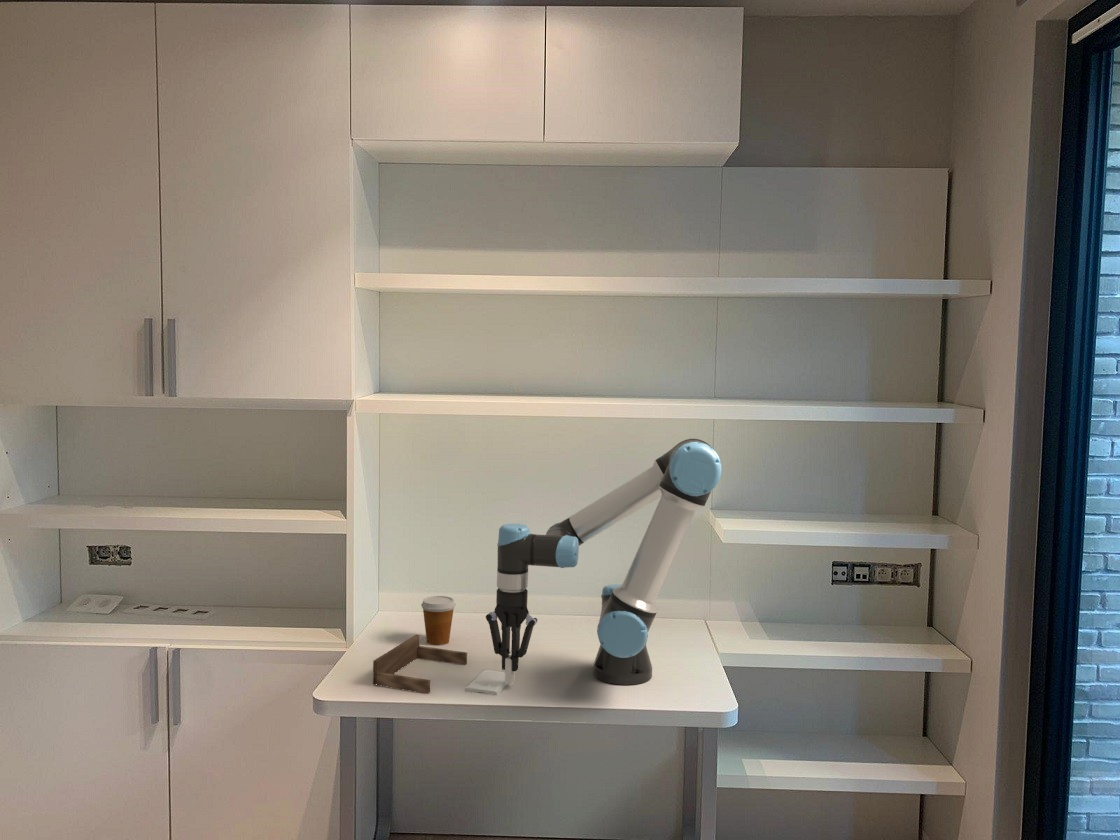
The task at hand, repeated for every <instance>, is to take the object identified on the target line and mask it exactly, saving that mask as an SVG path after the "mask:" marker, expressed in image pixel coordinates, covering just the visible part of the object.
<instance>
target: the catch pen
mask: <svg viewBox="0 0 1120 840" xmlns="http://www.w3.org/2000/svg"><path fill="white" fill-rule="evenodd" d="M420 642H421V641H420V634H415V635H413V636H411V637H409V638H408V639H407V640H405V641H403V642H402V643H399V645H397V646H395V647H393V648H392V649H391V650H389V651H387V652H386V653H384V654H382V655H380V656H379V657H377V658H375V659H374V660H372V661H373V662H372V665H373V667H372V672H373V673H372V685H373V684H377V685H382V686H381V687H383V686H388V687H387V688H389V687H392V689H396V688H397V690H402V689H404V690H403V691H408V690H411V691H410V692H414V691H416V692H415V693H422V694H431V679H424V678H421V677H420V678H419V677H413V676H407V675H401V674H400V675H399V674H396V673H397V672H399V671H400V670H402V669H403V668H405V667H406V666H408V665H409V664H410V662H411V663H412V662H414V661H416V659H423V660H428V661H435V662H436V661H437V662H441V663H442V662H443V663H450V664H457V665H462V666H463V665H464V666H466V665H467V664H468V652H464V651H460V650H459V651H458V650H452V649H445V648H438V647H432V646H431V647H430V646H424V645H420V644H421V643H420ZM413 660H414V661H413ZM407 664H408V665H407ZM404 666H405V667H404ZM402 667H403V668H402ZM401 668H402V669H401ZM398 670H399V671H398ZM395 672H396V673H395ZM394 673H395V674H394ZM377 685H376V686H377Z"/></svg>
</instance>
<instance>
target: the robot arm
mask: <svg viewBox="0 0 1120 840" xmlns="http://www.w3.org/2000/svg"><path fill="white" fill-rule="evenodd" d="M722 470H723V469H722V462H721V458H720V457H719V455H718V453H717V452H716V450H715V449H713V448H712V446H711V445H710V444H709V443H708V442H706V441H704V440H702V439H699V438H687V439H684V440H682V441H679V442H678V443H677V444H675V445H674V446H673V447H672V448H671V449H670V450H668V451H667V452H666V453H664V454H662V455H661V456H660V457H657V458H656V459H655V460H654V461H653V465H652V466H651V467H649V468H647V469H646V470H645V471H642V472H641V473H640V474H637V475H636V476H635V477H633V478H631V479H629V480H628V481H626V482H625V483H623V484H622V485H620V486H618V487H617V488H614V489H613V490H612V491H610V492H608V493H606V494H604V495H603V496H601V497H600V498H598V499H596V500H595V501H593V502H591V503H590V504H588V505H587V506H585V507H584V508H582V509H580V510H578V511H577V512H575V513H573V514H572V515H570V516H569V517H567V518H566V519H564V520H561V521H560V522H556V523H554V524H553V525H551V526H550V527H548V529H547V531H546V533H545V534H536V533H535V534H534V533H531V531H530V527H529V525H527V524H523V523H522V524H520V523H507V524H503V525H501V526H500V527H499V528H498V529H499V530H498V539H497V543H496V544H497V571H496V574H497V575H496V587H497V589H496V600H495V601H496V602H495V603H496V605H495V607H494V611H491V612H489V613H487V614H486V615H485V620H486V621H487V624H488V626H489V631H490V635H491V636H490V637H491V640H492V646H493V651H494V653H495V654H496V655H499V656H501V670H502V671H504V672H505V685H506V686H512V685H513V684H514V683H515V673H516V672H517V671H518V670H519V659H520V658H523V657H524V656H525V655H527V652H528V648H529V644H530V641H531V637H532V634H533V629H534V626H535V625H536V624H537V622H538V618H537V617H532V616H531V615H530V611H529V609H528V594H529V591H528V589H527V588H528V585H529V583H528V582H529V566H534V567H535V566H537V567H539V566H540V567H547V568H548V567H552V568H561V569H565V568H575V567H576V566H577V565H578V561H579V551H580V550H579V549H580V548H579V547H580V546H582V544H584V543H585V542H588V541H589V540H591V539H592V538H594V537H596V536H598V535H599V534H601V533H602V532H604V531H605V530H608V529H609V528H611V527H612V526H614V525H616V524H617V523H619V522H621V521H623V520H624V519H626V518H628V517H629V516H630V515H633V514H634V513H636V512H638V511H639V510H640V509H643V508H644V507H646V506H648V505H650V504H651V503H653V502H655V501H656V500H658V499H659V498H660V499H659V501H658V503H657V506H656V508H655V510H654V512H653V514H652V517H651V519H650V522H649V524H648V526H647V528H646V531H645V532H644V535H643V537H642V539H641V542H640V544H639V546H638V549H637V551H636V553H635V555H634V558H633V560H632V562H631V565H630V566H629V569H628V571H627V573H626V576H625V578H624V580H623V583H622V584H617V583H615V584H607V585H605V586H604V587H603V588H602V591H601V596H600V597H601V611H600V616H599V621H598V624H597V627H596V628H597V630H596V632H597V639H598V642H599V643H600V645H599V647H598V651H597V653H596V656H595V659H594V661H593V667H592V674H593V676H594V677H595V678H596V679H598V680H600V681H602V682H605V683H609V684H613V685H621V686H624V685H626V686H628V685H640V684H643V683H646V682H648V681H650V680H651V679H652V677H653V664H652V662H651V657H650V654H649V651H648V648H647V642H648V638H649V631H650V629H651V627H652V625H653V622H654V619H655V617H656V615H657V613H658V611H659V610H658V606H657V603H656V599H657V597H658V596H659V593H660V591H661V588H662V586H663V584H664V583H665V579H666V577H667V575H668V573H669V570H670V568H671V565H672V563H673V561H674V560H675V557H676V555H677V553H678V550H679V548H680V546H681V543H682V541H683V539H684V537H685V534H686V533H687V530H688V528H689V525H690V523H691V522H692V519H693V517H694V515H695V512H696V511H697V510H700V509H702V508H704V507H705V506H706V504H707V501H708V500H709V497H710V494H711V493H712V491H713V490H714V489H715V488H716V486H717V485H718V484H719V482H720V479H721V476H722ZM498 620H499V622H500V624H501V633H500V627H499V623H498ZM524 621H525V625H526V626H525V628H524V632H523V636H522V638H521V628H522V624H523V623H524ZM521 639H522V640H521ZM520 641H521V642H520ZM510 645H511V647H510ZM510 650H511V651H510Z"/></svg>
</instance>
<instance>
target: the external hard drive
mask: <svg viewBox="0 0 1120 840" xmlns="http://www.w3.org/2000/svg"><path fill="white" fill-rule="evenodd" d="M505 687H507V685H505V671H497V670H489V669H484V670H482V671H481V672H480V673H479V674H478V675H477V676H476V677H475V678H474V679H473V680H472V681H471V682H470V683H469V684H468V685H466V687H465V689H464V692H468V693H469V692H470V693H476V694H483V695H484V694H485V695H493V696H498V695H499V694H500V693H501V691H503V689H504V688H505Z"/></svg>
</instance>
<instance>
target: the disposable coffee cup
mask: <svg viewBox="0 0 1120 840" xmlns="http://www.w3.org/2000/svg"><path fill="white" fill-rule="evenodd" d="M420 605H421V608H422V613H423V619H424V621H423V622H424V629H425V638H426V639H425V640H426V643H427V644H428V645H431V646H443V645H447V644H449V643H450V638H451V630H452V622H453V616H454V609H455V607H456V602H455V599H454V598H453V597H451V596H445V595H433V596H428V597H425V598H423V599H422V603H421V604H420Z"/></svg>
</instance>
